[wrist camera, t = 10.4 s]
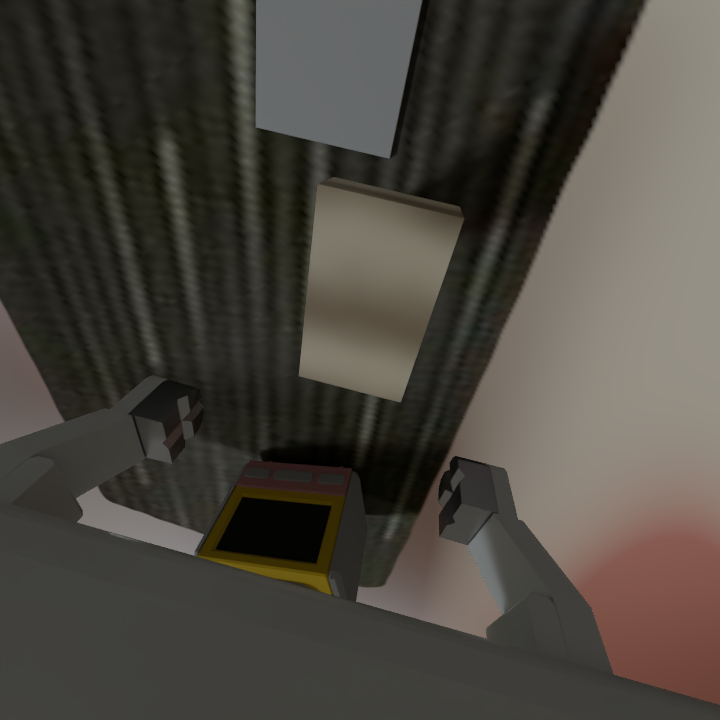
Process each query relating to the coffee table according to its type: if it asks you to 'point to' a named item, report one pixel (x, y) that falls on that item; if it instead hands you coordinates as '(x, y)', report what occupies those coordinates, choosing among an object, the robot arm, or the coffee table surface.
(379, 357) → the birch lid
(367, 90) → the grey mat
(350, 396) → the coffee table surface
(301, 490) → the alarm clock
